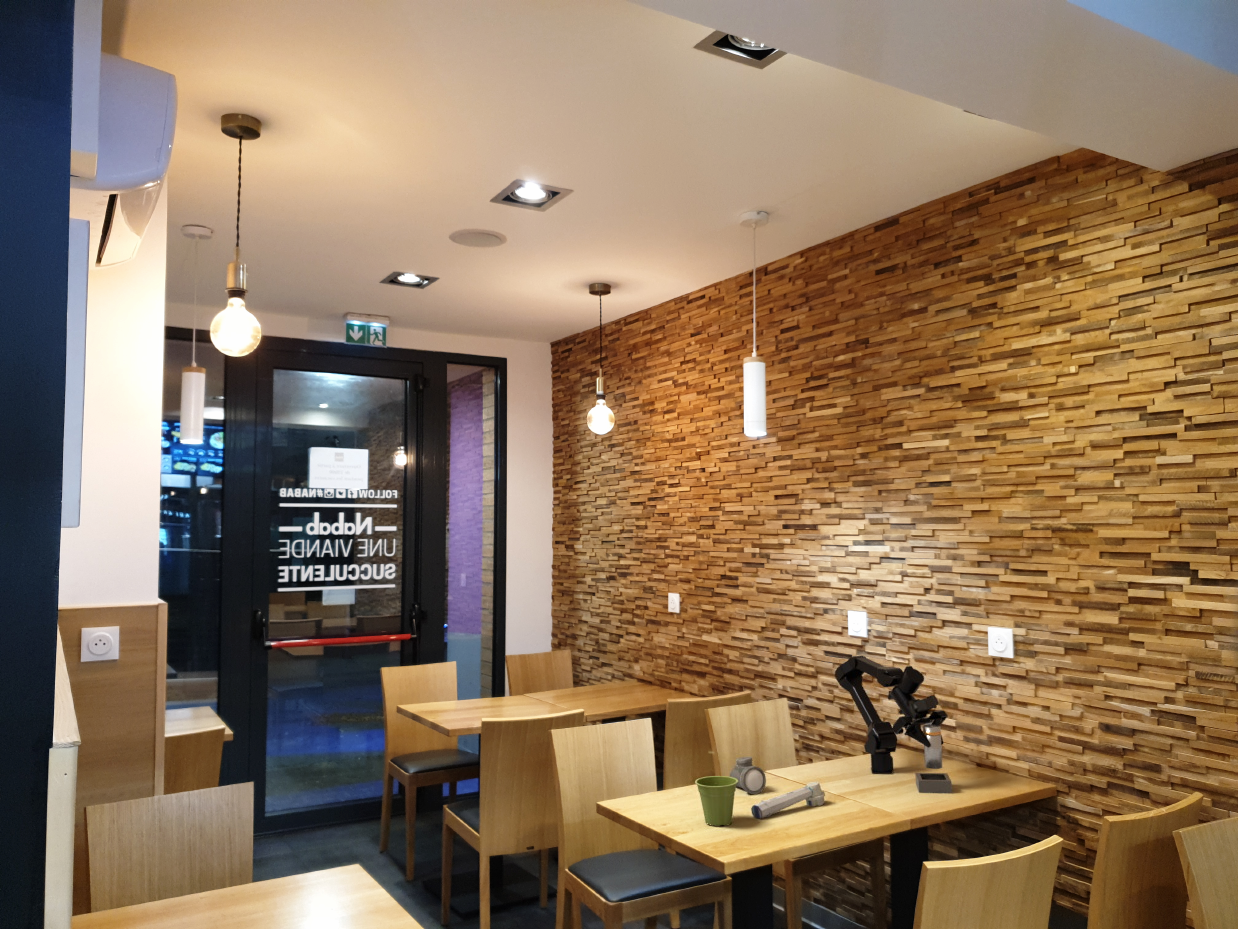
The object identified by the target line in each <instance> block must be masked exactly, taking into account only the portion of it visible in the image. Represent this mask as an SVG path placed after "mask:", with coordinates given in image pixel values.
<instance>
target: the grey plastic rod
mask: <svg viewBox="0 0 1238 929" xmlns="http://www.w3.org/2000/svg"><path fill="white" fill-rule="evenodd" d="M825 796H826V793H825V791H824V790H822V788H821V785H820V783H819V782H818V781H811V782H807V784H806V785H805V786H804V787H800V788H797V789H795V790H792V791H789V792H785V793H783V794H780V795H777V796H774V797H771V798H769V799H766V800H764V799H761V801H760V802H758V803H755V804H754V805H752V807H751V808H750V811H751V815H752V816H753V818H755V819H758V820H762V819H765V818H770V817H771V815H774V814H775V813H778V812H780V811H782V810H784V809H786V808H789V807H792V806H794V805H795V804H798V803H800V802H802V801H805V803H806V806H808V807H816V806H819V807H821V806H822V805H824V804H825V803H826V802H825V801H826V800H825Z"/></svg>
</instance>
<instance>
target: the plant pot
mask: <svg viewBox="0 0 1238 929" xmlns="http://www.w3.org/2000/svg"><path fill="white" fill-rule="evenodd" d="M694 783H695V785H696V786H697V790H698V793H699V797H700V801H701V806H702V811H703V816H704V821H705V823H706V824H707V823H708V824H711V825H710V826H713V825H715V826H714V827H720V826H728V825H731V824H732V822H733V814H734V813H733V812H734V802H735V801H734V800H735V792H736V788H737V787H736V784H737V783H738V780H737V779H736V778H733V777H729V776H725V775H724V776H722V775H713V776H712V775H711V776H710V775H709V776H703V777H699V778H697V779H695V782H694ZM708 824H707V825H708Z"/></svg>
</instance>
